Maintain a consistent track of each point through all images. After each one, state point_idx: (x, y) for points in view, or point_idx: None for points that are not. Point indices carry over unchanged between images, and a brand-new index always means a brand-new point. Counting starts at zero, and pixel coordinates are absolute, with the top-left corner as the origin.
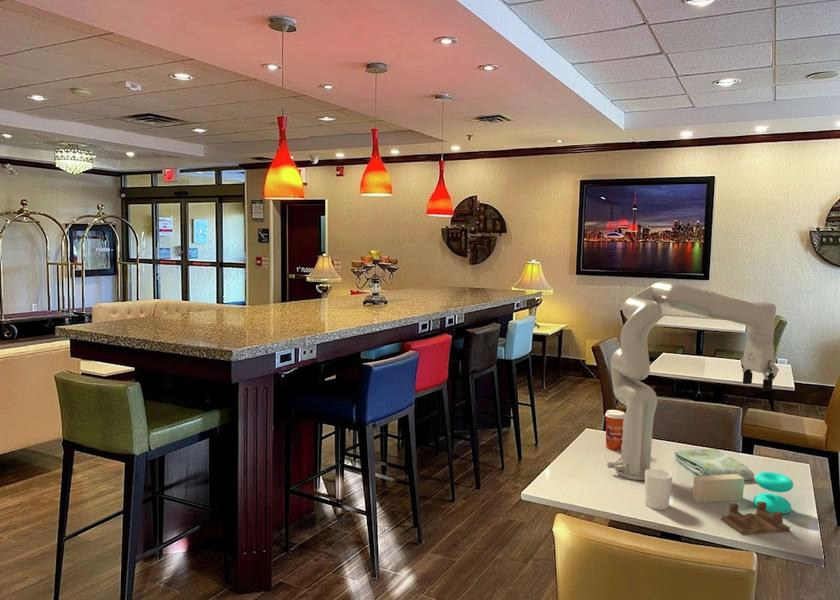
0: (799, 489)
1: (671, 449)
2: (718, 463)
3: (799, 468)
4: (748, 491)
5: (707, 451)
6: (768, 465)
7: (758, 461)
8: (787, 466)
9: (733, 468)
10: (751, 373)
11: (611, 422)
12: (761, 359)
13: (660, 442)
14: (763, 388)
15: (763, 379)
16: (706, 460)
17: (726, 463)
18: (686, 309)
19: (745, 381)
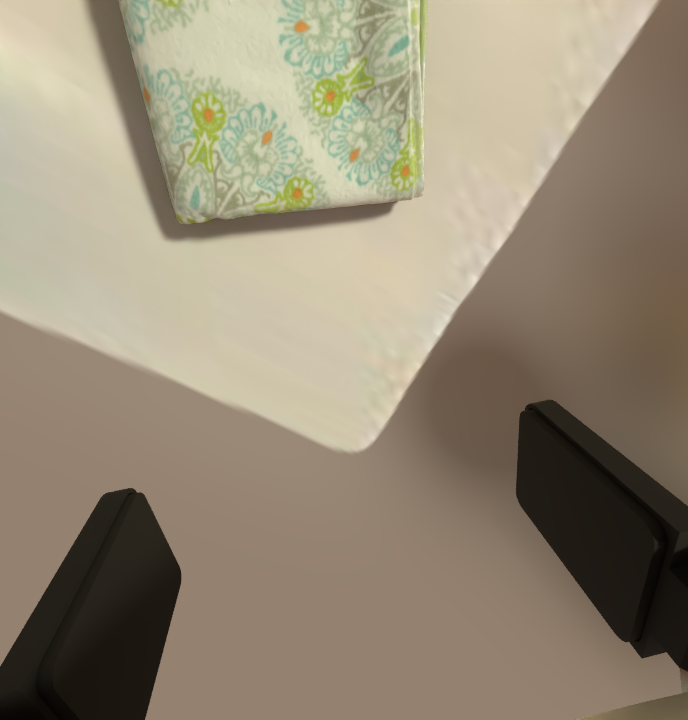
0: (130, 346)
1: (538, 19)
2: (226, 75)
3: (322, 433)
4: (53, 130)
5: (397, 119)
6: (345, 354)
7: (381, 340)
8: (338, 408)
9: (171, 125)
10: (623, 627)
11: None
12: None
13: (629, 10)
14: (96, 513)
15: (23, 679)
16: (268, 30)
17: (244, 131)
18: None
19: (539, 439)
